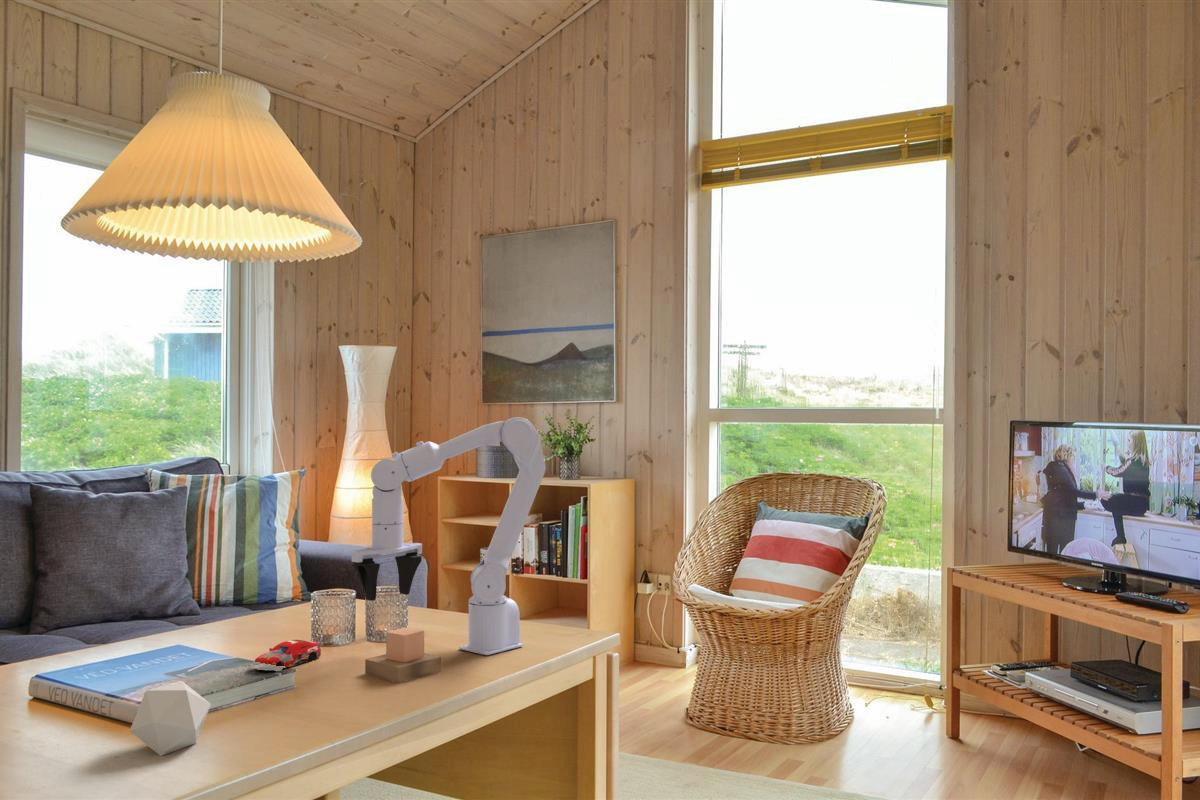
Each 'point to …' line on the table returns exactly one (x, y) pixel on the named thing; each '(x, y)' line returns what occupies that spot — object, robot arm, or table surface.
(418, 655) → the terracotta cube
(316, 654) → the race car
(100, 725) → the table surface
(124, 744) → the table surface
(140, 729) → the die
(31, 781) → the table surface
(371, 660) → the walnut block
